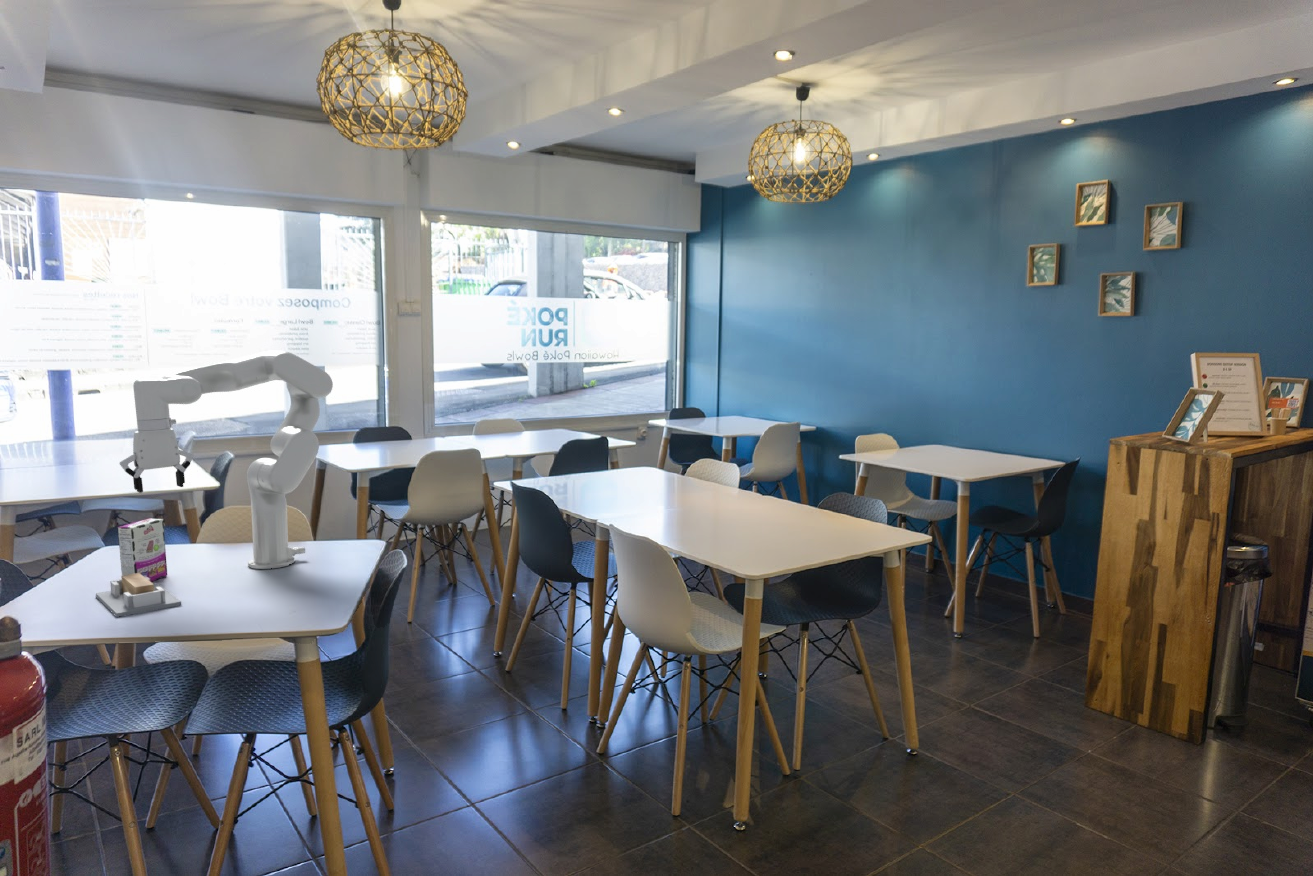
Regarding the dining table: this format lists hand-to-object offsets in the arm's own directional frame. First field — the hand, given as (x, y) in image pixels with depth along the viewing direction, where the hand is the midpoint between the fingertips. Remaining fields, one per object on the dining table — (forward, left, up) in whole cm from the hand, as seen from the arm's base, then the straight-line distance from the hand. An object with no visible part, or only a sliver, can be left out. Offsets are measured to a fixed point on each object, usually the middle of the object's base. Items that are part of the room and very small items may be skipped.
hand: (160, 489), depth 228 cm
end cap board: (+9, +10, -26) cm, 30 cm away
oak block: (+9, +10, -25) cm, 29 cm away
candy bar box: (+3, -9, -27) cm, 28 cm away
